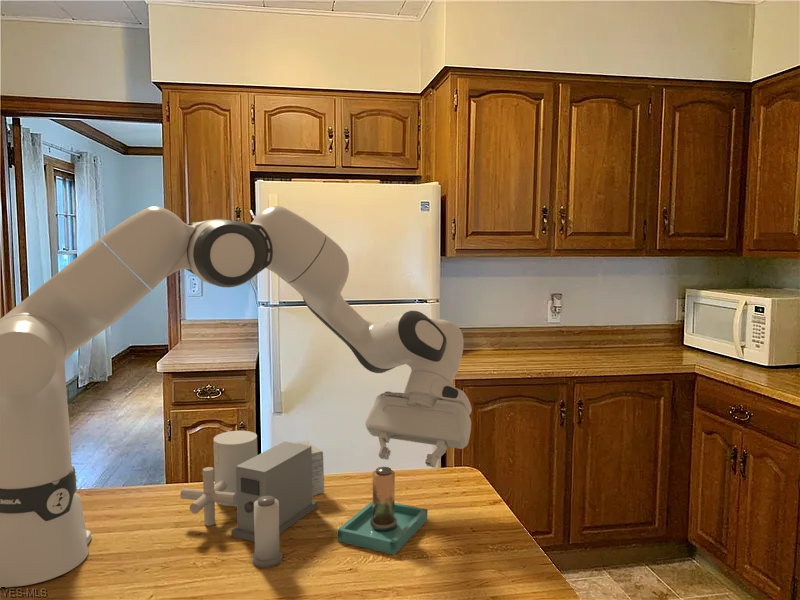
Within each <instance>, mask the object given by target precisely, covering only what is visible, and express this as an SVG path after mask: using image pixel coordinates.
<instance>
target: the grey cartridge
mask: <svg viewBox="0 0 800 600" xmlns="http://www.w3.org/2000/svg"><path fill="white" fill-rule="evenodd" d="M254 533H255V542H254V552H253V553H252V565H253V566H255V567H256V568H259V569H273V568H274V567H278V566H279V565H280V564H281V563H282V562H283V551H282V550H281V549H280V548H281V547H280V534H279V501H278V500H277V499H275V498H274V497H273V496H262V497H260V498H258V500H257V501H255V502H254Z"/></svg>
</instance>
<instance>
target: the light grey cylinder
mask: <svg viewBox="0 0 800 600" xmlns="http://www.w3.org/2000/svg"><path fill="white" fill-rule="evenodd" d="M257 455H259V454H258V435H257V433H256V432H253V431H249V430H230V431H226V432H225V431H224V432H221V433H219V434H217V435H215V436H214V437H213V468H214V485H216V484H217V483H218V482H219V481H225V482H226V484H227V488H226V489H225V490H224V491H223V492H231V493H237V489H236V466H237V465H239V464H241V463H243V462H245V461H247V460H249V459H251V458H253V457H255V456H257ZM216 503H217V504H218V505H221V506H225V507H237V501H236V503H235V504H231V503H221V502H216Z"/></svg>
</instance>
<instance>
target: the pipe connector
mask: <svg viewBox="0 0 800 600" xmlns="http://www.w3.org/2000/svg"><path fill="white" fill-rule="evenodd" d="M202 485H203V487H202V489H199V488H187V487H184V488H182V489H181V490H180V494H179V495H180V499H182V500H191V501H193V502H192V503H191V504H190V505H189V511H190V512H191V513H192V514H198V513H199V512H201V510H203V516H204V517H203V518H204V522H203V523H204V525H205V526H207V527H210V526H215V524H216V507H215V505H216V504H215V503H217V502H221V503H231V504H235V503H236V501H237V493H231V492H223V491H224V490H225V489H226V488H227V484H226V482H225V481H219V482H218V483H217V484H216V485H215V473H214V466H213V467H212V466H206V467H203V468H202Z"/></svg>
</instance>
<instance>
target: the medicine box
mask: <svg viewBox="0 0 800 600" xmlns="http://www.w3.org/2000/svg"><path fill="white" fill-rule="evenodd" d="M295 443H296V444H302V445H308V446H311V448H312V497H314V496H317V495H321V494H322V495H323V494H324V493H325V477H324V476H325V474H324V472H325V471H324V469H325V468H324V452H323V451H322V450H321V449H320V448H318V447H317V446H315V445H314V444H313V443H311V442H310V441H308V440H304V441H299V442H298V441H297V442H295Z"/></svg>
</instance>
